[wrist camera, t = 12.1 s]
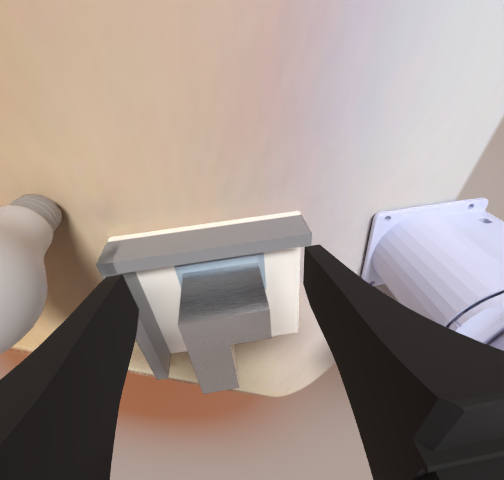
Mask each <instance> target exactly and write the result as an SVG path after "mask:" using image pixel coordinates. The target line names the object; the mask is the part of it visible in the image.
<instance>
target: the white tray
mask: <svg viewBox="0 0 504 480" xmlns="http://www.w3.org/2000/svg"><path fill="white" fill-rule="evenodd" d="M311 240H312V233H311V231H310V229H309V227H308V226H307V224H306V222H305V220H304V219H303V217H302V215H301V213H300V212H299V211H294V212H287V213H279V214H272V215H265V216H258V217H251V218H244V219H237V220H229V221H222V222H215V223H208V224H201V225H194V226H187V227H179V228H172V229H165V230H158V231H151V232H144V233H137V234H129V235H122V236H115V237H109V239H108V241H107V244H106V246H105V248H104V250H103V252H102V254H101V256H100V258H99V260H98V262H97V264H96V266H97V268H98V270H99V271H100V273H101V275H102V277H103V279H105V278H106V277H107V276H114V275H121V274H123V276H124V279H125V281H126V283H127V285H128V287H129V289H130V291H131V293H132V295H133V298H134V300H135V302H136V304H137V306H138V308H139V318H138V327H137V334H136V341H137V343H138V345H139V347H140V349H141V350H142V352H143V354H144V356H145V358H146V360H147V362H148V364H149V365H150V367H151V369H152V371H153V373H154V375H155V377H156V379H157V380H160V379H166V378H168V375H169V366H170V357H171V354H172V353H178V352H184V351H187V349H186V346H185V343H184V341H183V338H182V335H181V333H180V330H179V327H178V318H179V308H180V297H181V287H182V276H183V273H189V272H195V271H202V270H208V269H215V268H221V267H228V266H234V265H241V264H248V263H254V262H258V264H259V268H260V272H261V276H262V280H263V284H264V288H265V292H266V296H267V300H268V304H269V308H270V319H271V335H272V336H278V335H284V334H290V333H296V332H298V314H299V278H300V247H303V246H310V245H311Z"/></svg>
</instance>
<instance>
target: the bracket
mask: <svg viewBox="0 0 504 480" xmlns="http://www.w3.org/2000/svg"><path fill="white" fill-rule="evenodd" d="M178 327H179V330H180V333H181V335H182V338H183V341H184V343H185V346H186V349H187V351H188V354H189V357H190V360H191V362H192V365H193V368H194V370H195V373H196V376H197V378H198V381H199V384H200V386H201V389H202V392H203V394H207V393H212V392H218V391H223V390H228V389H234V388H239V381H238V371H237V361H236V351H235V344H239V343H245V342H251V341H257V340H262V339H268V338H272V335H271V319H270V308H269V304H268V300H267V296H266V292H265V288H264V284H263V280H262V276H261V272H260V268H259V264H258V262H254V263H248V264H241V265H234V266H228V267H221V268H215V269H208V270H202V271H195V272H189V273H183V276H182V287H181V297H180V308H179V318H178Z"/></svg>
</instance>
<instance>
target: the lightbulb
mask: <svg viewBox="0 0 504 480" xmlns="http://www.w3.org/2000/svg"><path fill="white" fill-rule="evenodd" d="M61 220H62V213H61V211H60V209H59V207H58V206H57V205H56V204H55V203H54V202H53V201H52V200H50V199H49V198H47V197H44V196H41V195H37V194H27V195H24V196H22V197H20V198H19V199H16V200H15V201H13V202H12V203H10V204H9V205H8V206H2V207H0V354H1V353H3V352H5V351H7V350H8V349H10V348H11V347H12V346H13V345H15V344H16V343H17V342H18V341H20V340H21V339H22V338H23V337H24V336H25V335H26V334H27V333H28V332H29V331H30V330H31V329H32V328H33V326H34V325H35V323H36V321H37V320H38V318H39V316H40V315H41V313H42V311H43V309H44V305H45V301H46V297H47V292H48V288H47V276H46V269H45V265H44V257H45V254H46V251H47V249H48V248H49V246H50V244H51V243H52V240H53V234H54V232H55V230H56V229H57V227H58V226H59V224H60V222H61Z"/></svg>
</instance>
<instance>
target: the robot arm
mask: <svg viewBox="0 0 504 480" xmlns="http://www.w3.org/2000/svg"><path fill="white" fill-rule="evenodd" d="M487 205H488V200H487V199H485V198H476V199H469V200H461V201H454V202H447V203H440V204H433V205H426V206H419V207H412V208H405V209H398V210H391V211H385V212H379V213H377V214H376V215H375V216H374V218H373V222H372V227H371V232H370V237H369V242H368V247H367V252H366V257H365V262H364V267H363V271H362V276H361V277H359V276H358V275H357V274H355V273H354V272H353V271H351V270H350V269H349V268H348V267H346V266H345V265H344V264H343V263H341V262H340V261H339V260H338V259H336V258H335V257H334V256H333V255H332V254H330V253H329V252H328V251H327V250H326V249H324V248H323V247H322V246H321V245H314V246H307V247H305V255H304V281H303V284H304V287H305V291H306V294H307V297H308V300H309V303H310V306H311V308H312V310H313V313H314V315H315V317H316V319H317V321H318V324H319V326H320V328H321V330H322V332H323V334H324V337H325V339H326V341H327V343H328V345H329V347H330V350H331V352H332V354H333V356H334V359H335V361H336V364H337V366H338V369H339V372H340V375H341V378H342V381H343V383H344V386H345V389H346V392H347V395H348V398H349V401H350V404H351V407H352V410H353V413H354V416H355V419H356V423H357V426H358V429H359V432H360V436H361V439H362V442H363V445H364V449H365V452H366V455H367V459H368V462H369V466H370V469H371V473H372V476H373V479H374V480H504V222H503V221H502V220H500V219H498V218H496V217H495V216H493V215H491V214H489V213H488V212H486V211H485V209H486V207H487ZM387 216H388V217H387ZM386 217H387V218H386ZM385 218H386V219H385ZM371 281H372V282H371ZM384 284H385V285H386V286H387V287H388V289H389V290H390V291H391V293H392V294H393V295H394V296H395V298H396V299H397V300H398V302H397V301H395V300H394V299H392V298H390V297H389V296H387V295H386V294H384V293H382V292H381V291H379V290H378V289H376V288H375V287H373V286H378V285H384ZM138 318H139V308H138V306H137V304H136V302H135V300H134V298H133V295H132V293H131V291H130V289H129V287H128V285H127V283H126V281H125V279H124V276H123V274H121V275H114V276H107V277H106V278H105V279H104V280H102V282H101V283H100V284H99V285H98V286H97V287H96V288H95V289H94V290H93V291H92V292H91V293H90V294H89V295H88V297H87V298H86V299H85V300H84V301H83V302H82V303H81V304H80V305H79V306H78V307H77V308H76V309H75V311H74V312H73V313H72V314H71V315H70V316H69V317H68V318H67V319H66V320H65V321H64V322H63V323H62V324H61V325H60V326H59V327H58V328H57V329H56V330H55V331H54V332H53V333H52V334H51V335H50V336H49V337H48V338H47V339H46V340H45V341H44V342H43V343H42V344H41V345H40V346H39V347H38V348H37V349H35V350H34V351H33V352H32V353H31V354H30V355H29V356H28V357H27V358H26V359H24V360H23V361H22V362H21V363H20V364H19V365H17V366H16V367H15V368H14V369H13V370H12V371H11V372H9V373H8V374H7V375H6V376H4V377H3V378H2V379H1V380H0V480H110V471H111V461H112V453H113V444H114V438H115V430H116V424H117V417H118V410H119V403H120V399H121V394H122V390H123V386H124V382H125V378H126V374H127V371H128V367H129V363H130V359H131V355H132V351H133V347H134V343H135V339H136V334H137V327H138Z"/></svg>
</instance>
